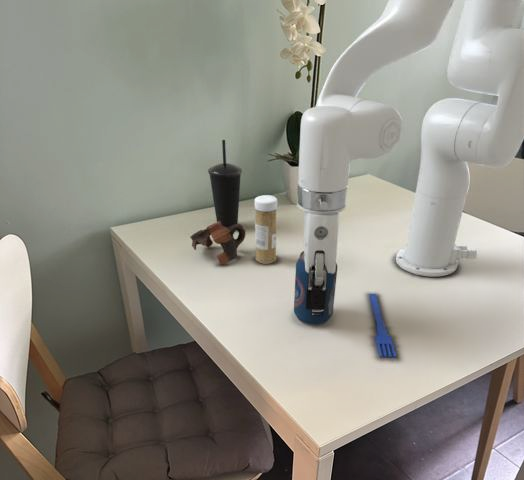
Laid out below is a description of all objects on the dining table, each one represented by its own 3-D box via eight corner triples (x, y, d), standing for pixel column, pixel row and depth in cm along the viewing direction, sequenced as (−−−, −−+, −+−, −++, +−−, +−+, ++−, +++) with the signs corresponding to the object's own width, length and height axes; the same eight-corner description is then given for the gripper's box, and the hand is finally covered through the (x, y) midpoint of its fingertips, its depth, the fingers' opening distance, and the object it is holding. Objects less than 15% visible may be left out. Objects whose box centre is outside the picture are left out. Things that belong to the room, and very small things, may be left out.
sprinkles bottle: (280, 261, 108) (281, 199, 100) (262, 266, 106) (262, 204, 98) (268, 253, 111) (269, 192, 103) (251, 258, 109) (250, 197, 101)
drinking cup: (225, 218, 127) (221, 133, 115) (249, 225, 123) (248, 139, 111) (205, 228, 122) (198, 141, 110) (229, 236, 118) (226, 146, 106)
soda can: (290, 307, 93) (293, 247, 86) (328, 305, 93) (333, 245, 86) (296, 328, 87) (299, 266, 80) (336, 326, 88) (342, 264, 81)
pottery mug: (210, 272, 104) (192, 236, 102) (199, 272, 113) (182, 239, 111) (259, 246, 107) (241, 210, 105) (244, 248, 116) (228, 215, 114)
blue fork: (365, 295, 96) (365, 293, 96) (379, 295, 96) (379, 293, 96) (379, 357, 81) (380, 355, 81) (396, 357, 81) (396, 355, 81)
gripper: (351, 219, 70) (339, 325, 81) (342, 178, 84) (333, 273, 95) (297, 217, 70) (292, 323, 81) (297, 177, 84) (293, 272, 95)
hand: (314, 296), depth 88 cm, fingers closed on soda can, 7 cm apart
